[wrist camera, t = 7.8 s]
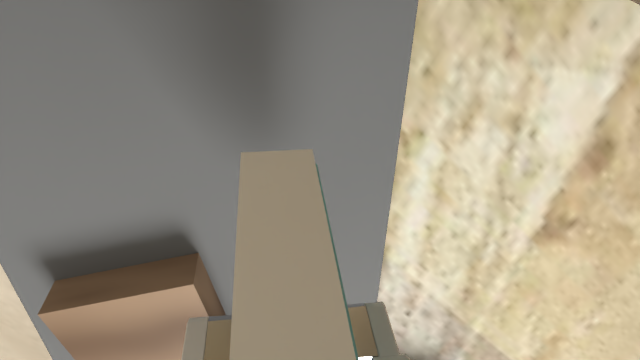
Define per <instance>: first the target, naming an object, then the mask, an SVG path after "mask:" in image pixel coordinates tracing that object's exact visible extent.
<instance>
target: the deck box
mask: <svg viewBox="0 0 640 360" xmlns="http://www.w3.org/2000/svg"><path fill="white" fill-rule="evenodd" d="M229 360H359V358H358V353H357V349H356V344H355V339H354V335H353V330H352V325H351V321H350V316H349V311H348V307H347V302H346V297H345V293H344V288H343V283H342V279H341V274H340V269H339V264H338V260H337V255H336V250H335V246H334V241H333V236H332V232H331V227H330V222H329V218H328V213H327V208H326V204H325V199H324V194H323V190H322V185H321V180H320V176H319V171H318V166H317V164H315V159H314V155H313V150H312V149H304V150H283V151H261V152H241V159H240V177H239V195H238V213H237V231H236V249H235V267H234V285H233V303H232V321H231V339H230V357H229Z"/></svg>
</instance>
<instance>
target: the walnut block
mask: <svg viewBox="0 0 640 360" xmlns="http://www.w3.org/2000/svg"><path fill="white" fill-rule="evenodd" d="M224 315H226V314H225V312H224V310H223V307H222V305H221V303H220V300H219V298H218V296H217V294H216V291H215V289H214V287H213V285H212V282H211V280H210V278H209V275H208V273H207V271H206V269H205V266H204V264H203V262H202V260H201V257H200V255H199V253H195V254H190V255H185V256H180V257H174V258H169V259H164V260H159V261H154V262H149V263H144V264H138V265H133V266H128V267H123V268H118V269H113V270H108V271H103V272H97V273H92V274H87V275H82V276H77V277H72V278H67V279H62V280H56V281H55V282H54V284H53V285H52V287H51V289H50V291H49V293H48V295H47V297H46V299H45V301H44V303H43V305H42V307H41V309H40V311H39V313H38V316H39V317H40V318H41V320H42V321H43V322H44V323H45V324H46V326H47V327H48V328H49V329H50V330H51V332H52V333H53V334H54V335H55V336H56V338H57V339H58V340H59V341H60V342H61V344H62V345H63V346H64V347H65V348H66V350H67V351H68V352H69V353H70V354H71V356H72V357H73V358H74V359H75V360H181V358H182V352H183V346H184V339H185V333H186V327H187V323H188V320H189V318H195V317H208V316H224Z"/></svg>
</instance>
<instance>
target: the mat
mask: <svg viewBox="0 0 640 360" xmlns="http://www.w3.org/2000/svg"><path fill="white" fill-rule="evenodd" d="M417 6H418V0H0V263H1V265H2V267H3V269H4V271H5V273H6V274H7V276H8V278H9V280H10V282H11V284H12V286H13V287H14V289H15V291H16V293H17V295H18V297H19V298H20V300H21V302H22V304H23V306H24V308H25V309H26V311H27V313H28V315H29V317H30V319H31V320H32V322H33V324H34V326H35V328H36V330H37V331H38V333H39V335H40V337H41V339H42V341H43V342H44V344H45V346H46V348H47V350H48V352H49V353H50V355H51V357H52V359H53V360H75V359H74V358H73V357H72V356H71V354H70V353H69V352H68V351H67V350H66V348H65V347H64V346H63V345H62V344H61V342H60V341H59V340H58V339H57V338H56V336H55V335H54V334H53V333H52V332H51V330H50V329H49V328H48V327H47V326H46V324H45V323H44V322H43V321H42V320H41V318H40V317H39V316H38V313H39V311H40V309H41V307H42V305H43V303H44V301H45V299H46V297H47V295H48V293H49V291H50V289H51V287H52V285H53V284H54V282H55V281H56V280H62V279H67V278H72V277H77V276H82V275H87V274H92V273H97V272H103V271H108V270H113V269H118V268H123V267H128V266H133V265H138V264H144V263H149V262H154V261H159V260H164V259H169V258H174V257H180V256H185V255H190V254H195V253H199V255H200V257H201V260H202V262H203V264H204V266H205V269H206V271H207V273H208V275H209V278H210V280H211V282H212V285H213V287H214V289H215V291H216V294H217V296H218V298H219V300H220V303H221V305H222V307H223V310H224V312H225V314H226V315H232V303H233V285H234V267H235V249H236V231H237V213H238V195H239V177H240V159H241V152H261V151H283V150H304V149H312V150H313V155H314V159H315V164H317V166H318V171H319V176H320V180H321V185H322V190H323V194H324V199H325V204H326V208H327V213H328V218H329V222H330V227H331V232H332V236H333V241H334V246H335V250H336V255H337V260H338V264H339V269H340V274H341V279H342V283H343V288H344V293H345V297H346V302H347V305H348V304H358V303H373V302H377V297H378V290H379V283H380V275H381V268H382V261H383V254H384V246H385V239H386V232H387V224H388V217H389V210H390V203H391V195H392V188H393V181H394V174H395V166H396V159H397V152H398V144H399V137H400V130H401V123H402V115H403V108H404V101H405V94H406V86H407V79H408V72H409V64H410V57H411V50H412V43H413V35H414V28H415V21H416V14H417Z"/></svg>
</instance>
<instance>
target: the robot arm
mask: <svg viewBox="0 0 640 360" xmlns="http://www.w3.org/2000/svg"><path fill="white" fill-rule="evenodd" d="M347 307H348V311H349V316H350V321H351V325H352V330H353V335H354V339H355V344H356V349H357V353H358V358H359V360H411V359H410V358H409V357H408V356H407V355H406V354H400V353H399V350H398V347H397V343H396V340H395V337H394V333H393V330H392V327H391V324H390V320H389V317H388V314H387V311H386V307H385V305H384V303H383V302H373V303H358V304H348V305H347ZM231 321H232V315H224V316H208V317H195V318H189V320H188V323H187V327H186V333H185V339H184V346H183V352H182V358H181V360H229V357H230V339H231Z"/></svg>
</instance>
